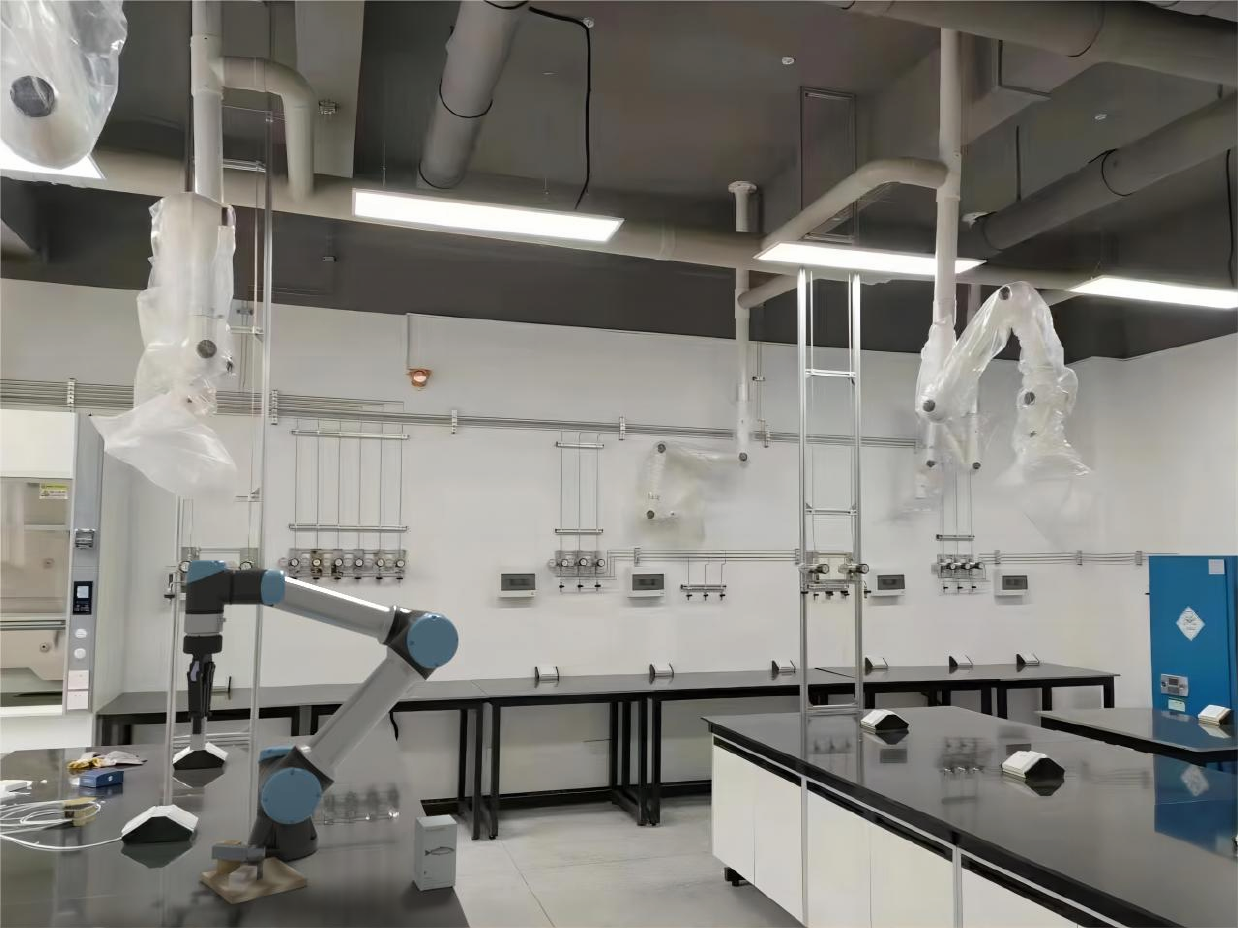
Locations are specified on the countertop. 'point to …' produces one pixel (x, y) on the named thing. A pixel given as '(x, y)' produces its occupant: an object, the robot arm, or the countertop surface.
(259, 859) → the swing bar
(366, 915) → the countertop surface
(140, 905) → the countertop surface
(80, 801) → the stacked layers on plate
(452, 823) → the supplement box
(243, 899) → the lock plate
